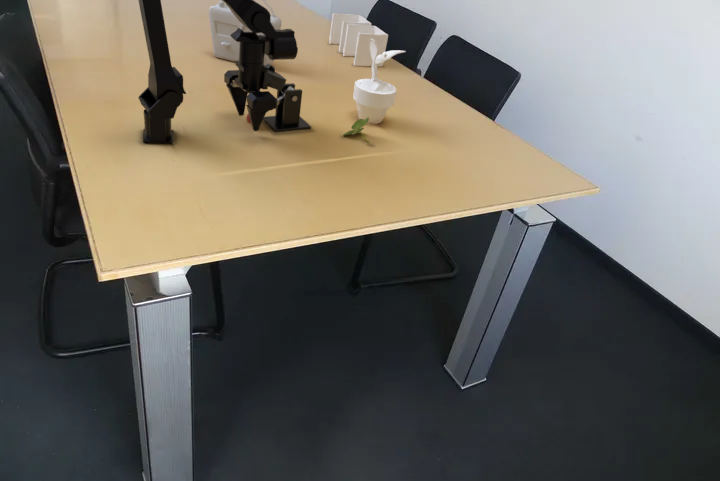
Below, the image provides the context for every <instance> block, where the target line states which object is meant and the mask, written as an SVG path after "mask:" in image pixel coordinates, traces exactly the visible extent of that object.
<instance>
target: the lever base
mask: <svg viewBox="0 0 720 481" xmlns="http://www.w3.org/2000/svg"><path fill="white" fill-rule="evenodd" d="M289 86H291V87H292V88H293V89H294V90H285V89H286V88H288V87H289ZM283 90H285V93H284V102H282V103H280V104H279V105H277V108H276V109H275V114H274V115H270V116H269V115H267V116H264V118H263V120H262V122H264V123H265V124H266V125H267V126H268V127H269V128H270V129H271V130H272V131H273V132H274V133H285V132H295V131H297V132H298V131H305V130H307V131H308V130H311V129H312V126H311V125H310V124H309V123H308V122H307V121H306V120H304V119H303V117H302V116H301V107H302V99H303V90H302V89H300V88H298V89H297V88H296V84H295V83H293V82H292V83H285V85H284V87H283V89H282V91H283ZM281 96H282V93H281V92H280V91H278V90H276V99H278V98H279V97H281Z"/></svg>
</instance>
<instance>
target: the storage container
mask: <svg viewBox="0 0 720 481" xmlns="http://www.w3.org/2000/svg"><path fill="white" fill-rule="evenodd" d="M329 31H330V32H329V39H328V44H329V45H339V46H338V53H339V54H341V53H342V57H354V58H353V66H354V67H372V63H373V60H372V57H371V53H370V42H371V40H370V39H374V40H375V42H376V44H377V46H378V53H377V56H378V55H380V53H381V52H382V51H383V53H384V52H386V50H387V44H388V41H386V42H385V44H384V47H383V43H382V42H381V40H382V39H383V38H384V35H385V38H386V40H388V39H389V34H388V33H386V32H384V31H383V30H382V29H380V28H379V27H378V26H376V25H372V23H371V22H370V21H369V20H368V19H366V18H364V17H363V16H362V15H360V14H349V13H333V12H332V16H331V25H330V30H329ZM382 49H383V50H382ZM383 66H384V62H383V63H381V64H377V67H383Z"/></svg>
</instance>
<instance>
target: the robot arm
mask: <svg viewBox="0 0 720 481" xmlns="http://www.w3.org/2000/svg"><path fill="white" fill-rule="evenodd" d="M223 1H224V2H225V4H226V5H227V6H228V7H229V9H230V10H231V12H232V13H233V14H234V15H235V17H236V18H237V19H238V20H239V21H240V22H241V23H242V24H243V25H244V26H246V27H247V28H248V29H250V30H251V31H252V32H243V30H241V29H240V28H238V29H237V30H236V31H235V32H233V33H232V34H231V35H230V36H231V37H232V38H233V39H234V40H235V41H236V42H240V46H239V61H236V62H235V66H236V67H237V68H238V69H233V70H232V69H230V70H229V69H228V70H226V72H225V73H224V74H223V82H224V83H225V85H226V88H227V89H228V92H229V94H230V97H231V99H232V101H233V104H234V106H235V109H236V111H237V114H238V116H239V117H241V116H244V115H245V110H247V114H248V113H249V117H250V120H251V124H250V125H251V127H252V130H253V131H254V132H258V131H259V129H260V128H261V125H262V123H263V118H264V117H266V114H267V113H268V112H270V111H273V110H276V108H277V103H278V100H277V97H276V96H275V95H273V94H272V93H271V92H270V91H269V90H268V88H270V89H273V90H276V91H277V90H278V91H280V92H282V89H283V87H284V85H285V84H286V82H287V78H285V77H284V76H283V75H282V74H280V73H278V72H277V71H276V67H275V66H273V65H272V64H271V65H269V64H267V65H264V55H265V54H266V55H268V57H269V59H271V60H274V61H278V60H280V61H283V60H287V61H288V60H295V59H296V58H297V55H298V53H299V52H298V51H299V49H298V48H299V47H298V43H297V39H296V37H295V30H293V29H291V28H285V29H280V30H275V29H274V27H273V26H272V24H271V22H270V20H271V19H270V16H271V15H272V14H271V12H270V11H269V10H268V8H266V7H265V6H263V5H262V4H260V3H258V2H257V1H255V0H223ZM138 5H139V6H138V7H139V11H140V16H141V21H142V26H143V32H144V37H145V43H146V48H147V53H148V54H147V55H148V59H149V70H148V75H147V78H148V80H147V84H148V85H147V87H146V89H144V91H143V92H142V93H140V95H139V96H138V100H139V103H140V105H141V106H142V107H143V109H144V110H143V123H144V128H143V130H142V132H143V133H142V143H144V144H145V143H146V144H173V143H174V130H173V129H172V120H173V119H174V118H175V115H176V112H177V110H178V108H179V107H180V106H181V104H183V103H184V95H186V94H187V92H186V90H185V87H184V75H182V73H181V72H180V71H179V70H178V69H177V68H176V67H175V66H173V65H172V60H171V55H170V54H171V53H170V49H169V42H168V36H167V29H166V24H165V18H164V11H163V6H162V0H138ZM256 33H263V34H264V35H257V34H256ZM261 90H263V91H261ZM264 90H265V91H264ZM269 110H270V111H269Z"/></svg>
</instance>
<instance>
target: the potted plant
mask: <svg viewBox="0 0 720 481" xmlns="http://www.w3.org/2000/svg"><path fill="white" fill-rule="evenodd" d="M370 40H371V42H370V53H371V57H372V60H373V63H372V66H371V78H359V79H357V80H355V81H354V88H353V94H352V99H353V101H355V104H356V110H357V118H358V120H360V119H364V120H365V119H366V118H367V117H369V120H368V122H367V124H374V125H375V124H376V125H377V124H380V123H381V122H383V119H384V118H385V116H386V114H387V112H388V111H389V110H390V108H391V107H393V106H394V105H395V100H396V95H397V87H395V86H394V85H392V83H389V82H386V81H384V80H381V79H380V78H378V76H379V75H378V66H377V64H381V63H383V64H384V63H385V62H388V61H389V60H390V59H391V58H392V57H394V56H396V55H399V54H403V53H406V52H407V51H406V50H399V49H397V50H396V49H395V50H393V49H392V50H387V51H385V52H384V53H383V51H382V52H381V53H380V55H378V56H377V53H378V46H377V44H376V42H375V40H374V39H370ZM386 41H387V42H388V41H389V40H388V39H387V40H386V38H385V35H384V38H383V39H382V40H381V42H382V43H383V47H384V44H385V42H386ZM382 50H383V49H382Z"/></svg>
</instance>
